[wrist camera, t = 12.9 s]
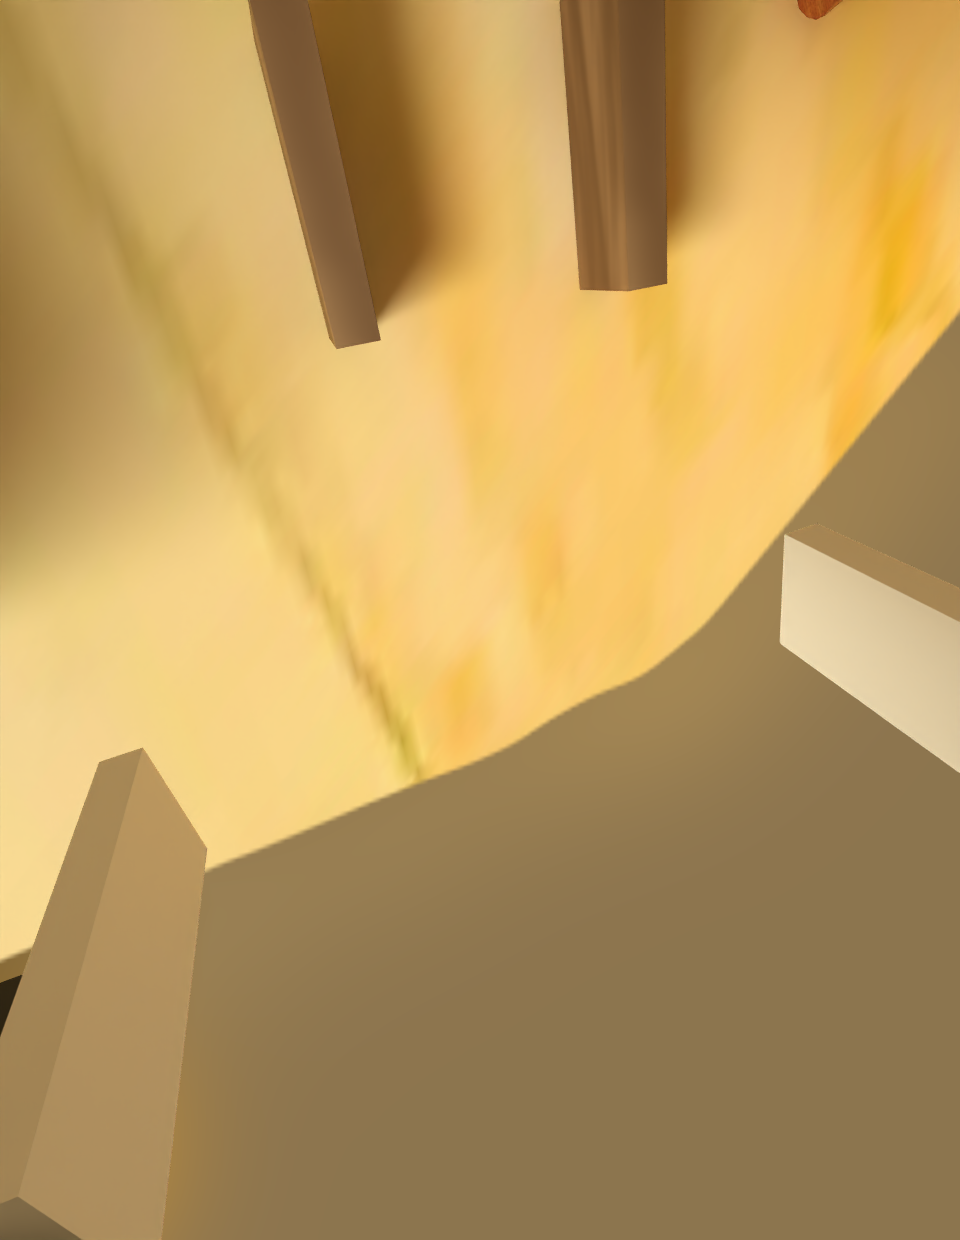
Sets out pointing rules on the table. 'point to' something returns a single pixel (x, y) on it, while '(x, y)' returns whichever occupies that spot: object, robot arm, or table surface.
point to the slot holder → (598, 132)
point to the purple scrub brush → (817, 7)
